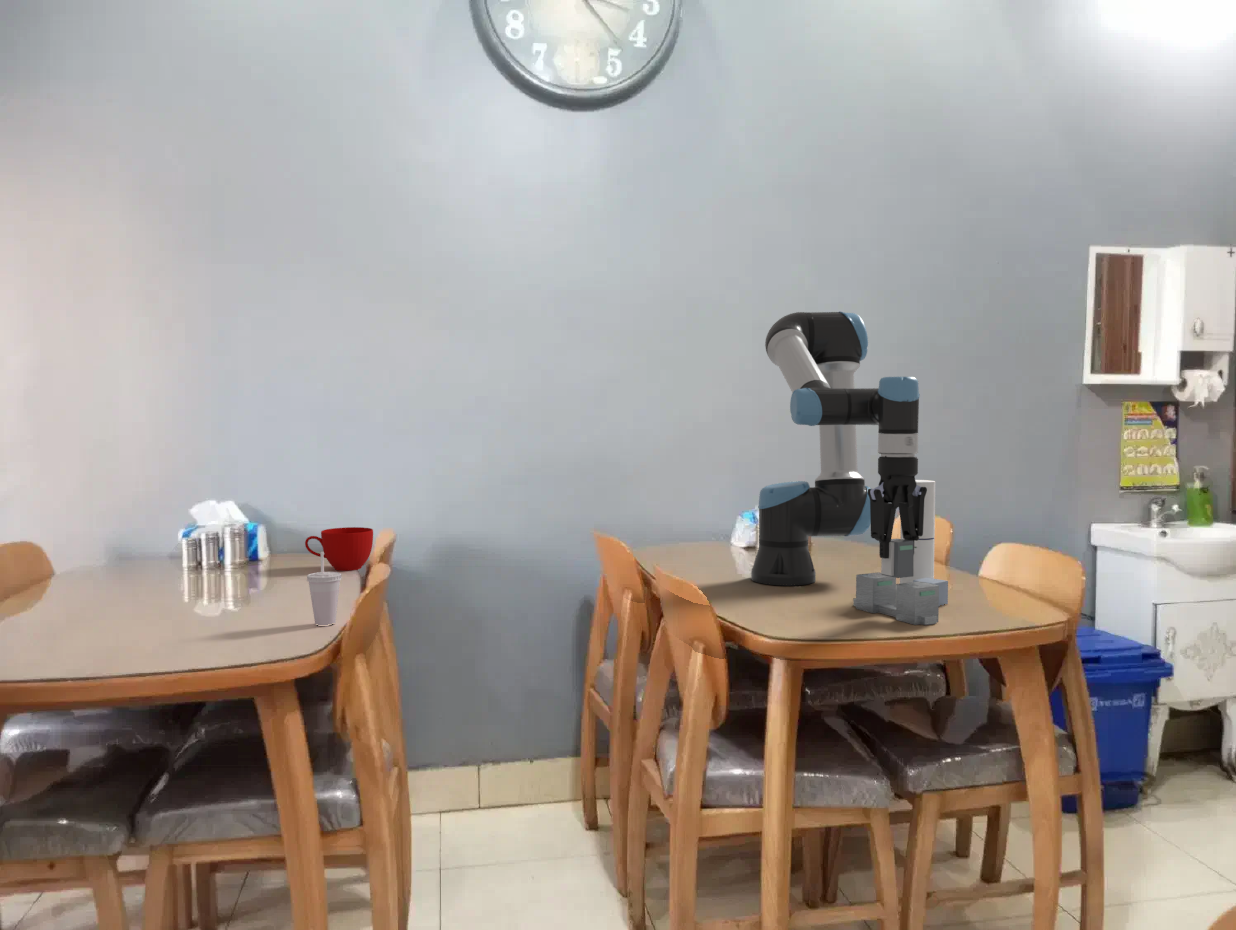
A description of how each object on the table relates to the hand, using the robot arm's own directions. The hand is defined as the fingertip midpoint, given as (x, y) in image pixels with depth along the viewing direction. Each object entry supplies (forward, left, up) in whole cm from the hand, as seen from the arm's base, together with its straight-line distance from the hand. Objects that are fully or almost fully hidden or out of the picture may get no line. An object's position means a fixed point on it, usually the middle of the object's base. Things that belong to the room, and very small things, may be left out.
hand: (896, 573), depth 185 cm
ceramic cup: (-108, -88, -9) cm, 139 cm away
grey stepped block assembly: (-1, 0, -8) cm, 8 cm away
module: (0, 0, 0) cm, 0 cm away
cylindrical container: (-14, +19, -9) cm, 25 cm away
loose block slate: (-5, +14, -8) cm, 17 cm away
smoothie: (-45, -102, -9) cm, 112 cm away
